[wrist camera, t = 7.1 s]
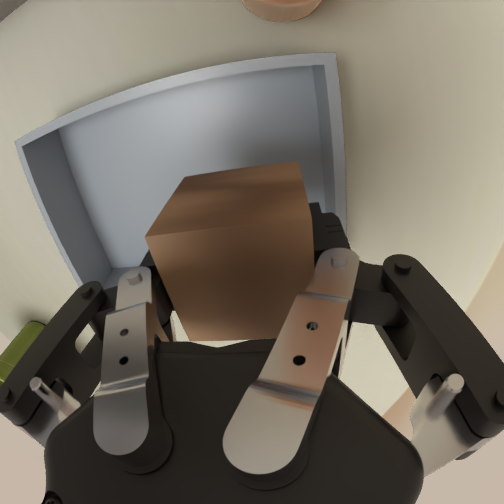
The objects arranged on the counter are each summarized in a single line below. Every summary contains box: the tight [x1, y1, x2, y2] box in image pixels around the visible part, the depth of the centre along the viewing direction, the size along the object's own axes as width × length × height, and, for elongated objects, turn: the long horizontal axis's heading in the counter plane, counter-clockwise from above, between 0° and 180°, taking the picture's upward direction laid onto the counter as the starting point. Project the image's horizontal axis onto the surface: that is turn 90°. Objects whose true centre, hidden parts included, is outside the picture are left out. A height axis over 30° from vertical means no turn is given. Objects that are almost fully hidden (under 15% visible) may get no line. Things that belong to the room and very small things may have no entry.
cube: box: [145, 161, 315, 341], centre depth 12 cm, size 5×5×5 cm
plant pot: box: [0, 322, 46, 387], centre depth 29 cm, size 12×12×11 cm
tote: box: [14, 52, 346, 290], centre depth 18 cm, size 19×14×5 cm
